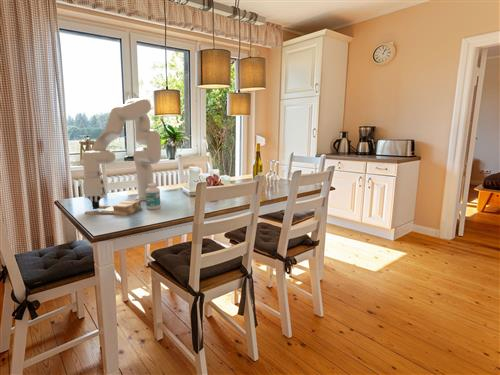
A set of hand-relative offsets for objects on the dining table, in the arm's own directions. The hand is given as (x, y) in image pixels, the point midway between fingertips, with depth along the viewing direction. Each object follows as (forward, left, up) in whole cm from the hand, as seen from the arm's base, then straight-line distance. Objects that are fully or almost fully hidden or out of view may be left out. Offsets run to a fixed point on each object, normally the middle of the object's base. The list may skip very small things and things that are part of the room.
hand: (96, 208), depth 165 cm
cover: (+1, +13, -2) cm, 13 cm away
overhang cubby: (0, +10, -1) cm, 10 cm away
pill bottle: (-7, +29, -1) cm, 30 cm away
